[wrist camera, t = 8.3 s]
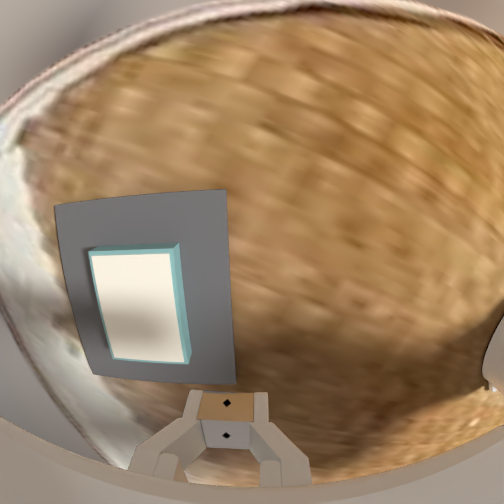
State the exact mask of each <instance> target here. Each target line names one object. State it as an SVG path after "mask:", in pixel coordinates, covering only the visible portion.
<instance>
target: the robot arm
mask: <svg viewBox="0 0 504 504" xmlns="http://www.w3.org/2000/svg"><path fill="white" fill-rule="evenodd" d="M482 373H483V377H484V378H485V379H486V380H487V381H488V382H489V390H491V391H492V392H495V391H497V390H498V391H499V392H501V393H502V394H503V395H504V317H503V318H502V320H501V322H500V323H499V325H498V327H497V329H496V331H495V333H494V335H493V337H492V339H491V341H490V344H489V346H488V349H487V351H486V354H485V358H484V362H483V367H482ZM206 447H211V448H231V449H250V451H251V453H252V454H253V455H254V457H255V458H256V460H257V461H258V462H259V464H260V484H259V487H231V486H216V485H205V484H196V483H188V480H187V478H186V475H185V473H184V470H185V469H186V468H187V467H188V466H189V465H191V464H192V463H193V462H194V460H195V459H196V458H197V457H198V456H199V455H200V454H201V453H202V452H203V451H204V450H205V449H206ZM0 504H504V425H501V426H498V427H496V428H494V429H493V430H491V431H489V432H487V433H485V434H483V435H481V436H479V437H477V438H475V439H473V440H471V441H469V442H467V443H465V444H462V445H460V446H458V447H456V448H453V449H451V450H449V451H446V452H444V453H441V454H439V455H436V456H433V457H430V458H428V459H425V460H422V461H419V462H416V463H413V464H410V465H407V466H403V467H400V468H396V469H393V470H389V471H385V472H381V473H377V474H373V475H368V476H364V477H359V478H353V479H348V480H342V481H336V482H329V483H321V484H312V480H311V473H310V465H309V458H308V457H307V456H306V455H305V454H304V453H303V452H302V451H301V450H300V449H299V448H297V447H296V446H295V445H294V444H293V443H292V442H291V441H290V440H289V439H288V438H287V437H286V436H285V435H284V433H283V432H282V431H281V430H280V429H279V428H278V427H277V426H276V425H275V424H274V423H273V422H269V411H268V393H267V392H255V393H254V392H219V391H206V390H204V391H203V390H194V389H191V391H190V392H189V395H188V399H187V402H186V405H185V409H184V412H183V416H182V418H177V419H176V420H174V421H173V422H171V423H170V424H169V425H167V426H166V427H164V428H163V429H162V430H160V431H159V432H157V433H156V434H154V435H153V436H152V437H150V438H149V439H147V440H146V441H144V442H143V443H141V444H140V445H138V446H137V447H136V449H135V452H134V454H133V457H132V460H131V462H130V465H129V467H128V470H124V469H121V468H117V467H114V466H110V465H107V464H104V463H101V462H98V461H95V460H92V459H89V458H86V457H84V456H81V455H78V454H76V453H73V452H71V451H68V450H66V449H63V448H61V447H58V446H56V445H54V444H52V443H50V442H47V441H45V440H43V439H41V438H39V437H37V436H35V435H33V434H31V433H29V432H27V431H25V430H24V429H21V428H20V427H18V426H16V425H14V424H13V423H11V422H9V421H8V420H6V419H4V418H2V417H1V416H0Z"/></svg>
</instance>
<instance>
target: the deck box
mask: <svg viewBox="0 0 504 504" xmlns="http://www.w3.org/2000/svg"><path fill="white" fill-rule="evenodd" d="M88 253H89V259H90V265H91V271H92V277H93V282H94V287H95V292H96V297H97V301H98V306H99V310H100V314H101V318H102V322H103V326H104V330H105V334H106V338H107V341H108V345H109V348H110V351H111V355H112V358H113V359H117V360H126V361H138V362H151V363H167V364H189V361H190V357H191V354H192V350H191V343H190V336H189V329H188V322H187V314H186V306H185V298H184V289H183V280H182V270H181V260H180V248H179V243H156V244H132V245H110V246H98V247H96V248H94V249H92V250H90V251H88Z"/></svg>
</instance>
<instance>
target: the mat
mask: <svg viewBox="0 0 504 504" xmlns="http://www.w3.org/2000/svg"><path fill="white" fill-rule="evenodd" d="M55 214H56V224H57V232H58V240H59V246H60V253H61V259H62V264H63V270H64V275H65V280H66V285H67V289H68V294H69V298H70V302H71V306H72V310H73V314H74V317H75V321H76V324H77V328H78V331H79V335H80V338H81V341H82V344H83V347H84V350H85V353H86V356H87V359H88V362H89V365H90V367H91V370H92V373H93V374H95V375H101V376H108V377H116V378H123V379H132V380H142V381H153V382H166V383H184V384H236V366H235V352H234V337H233V320H232V303H231V285H230V265H229V244H228V220H227V192H226V189H217V190H198V191H181V192H167V193H155V194H143V195H132V196H123V197H113V198H104V199H96V200H88V201H80V202H73V203H66V204H59V205H55ZM156 243H179V248H180V260H181V270H182V280H183V289H184V298H185V306H186V314H187V322H188V329H189V336H190V343H191V350H192V354H191V357H190V361H189V364H167V363H151V362H138V361H126V360H117V359H113V358H112V355H111V351H110V348H109V345H108V341H107V338H106V334H105V330H104V326H103V322H102V318H101V314H100V310H99V306H98V301H97V297H96V292H95V287H94V282H93V277H92V271H91V265H90V259H89V253H88V251H90V250H92V249H94V248H96V247H98V246H110V245H132V244H156Z"/></svg>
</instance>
